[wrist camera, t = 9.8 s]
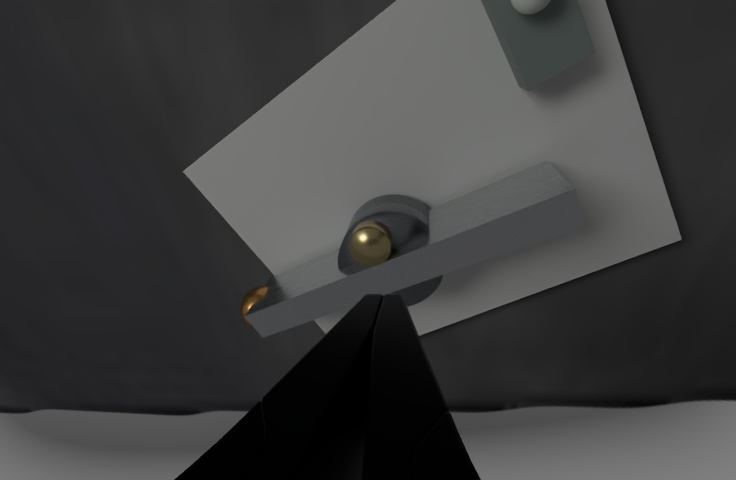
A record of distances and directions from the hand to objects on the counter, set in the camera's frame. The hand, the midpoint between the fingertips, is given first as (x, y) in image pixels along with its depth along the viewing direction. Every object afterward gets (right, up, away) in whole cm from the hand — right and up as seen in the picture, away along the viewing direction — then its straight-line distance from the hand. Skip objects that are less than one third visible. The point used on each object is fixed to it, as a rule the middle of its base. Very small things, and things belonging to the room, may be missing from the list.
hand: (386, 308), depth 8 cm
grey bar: (0, +1, +11) cm, 11 cm away
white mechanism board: (+2, +4, +11) cm, 12 cm away
